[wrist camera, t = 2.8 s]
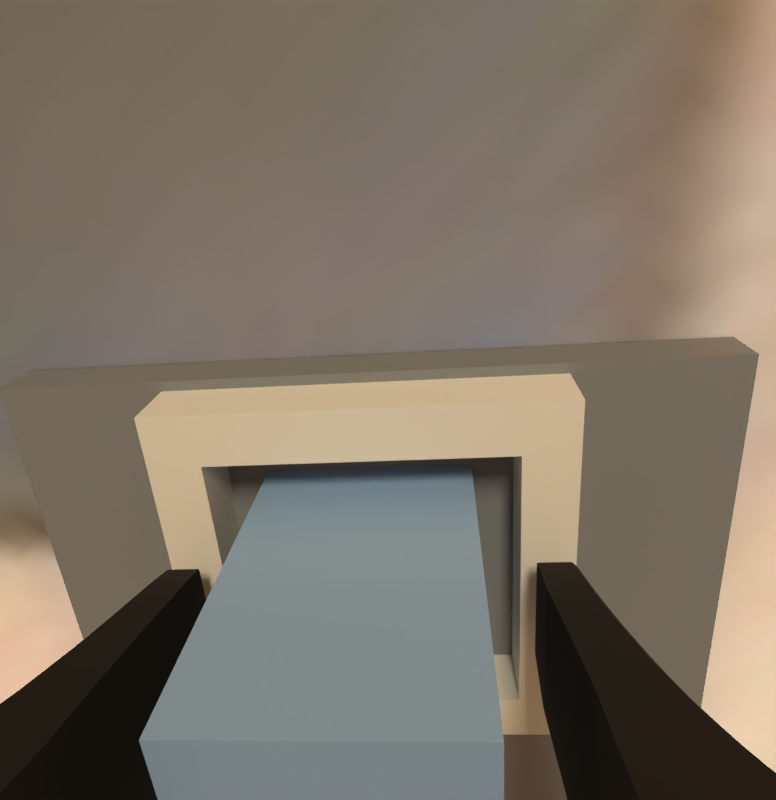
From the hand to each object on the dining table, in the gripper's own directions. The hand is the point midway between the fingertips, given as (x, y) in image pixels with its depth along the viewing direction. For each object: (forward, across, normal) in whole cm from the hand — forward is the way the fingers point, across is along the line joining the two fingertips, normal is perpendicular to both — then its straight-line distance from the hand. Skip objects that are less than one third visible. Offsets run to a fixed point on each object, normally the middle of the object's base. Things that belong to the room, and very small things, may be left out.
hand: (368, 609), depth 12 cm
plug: (+2, 0, 0) cm, 2 cm away
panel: (+3, 0, +7) cm, 8 cm away
